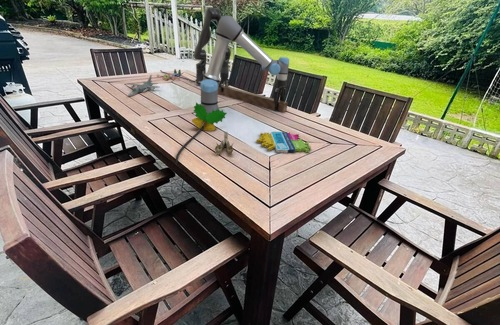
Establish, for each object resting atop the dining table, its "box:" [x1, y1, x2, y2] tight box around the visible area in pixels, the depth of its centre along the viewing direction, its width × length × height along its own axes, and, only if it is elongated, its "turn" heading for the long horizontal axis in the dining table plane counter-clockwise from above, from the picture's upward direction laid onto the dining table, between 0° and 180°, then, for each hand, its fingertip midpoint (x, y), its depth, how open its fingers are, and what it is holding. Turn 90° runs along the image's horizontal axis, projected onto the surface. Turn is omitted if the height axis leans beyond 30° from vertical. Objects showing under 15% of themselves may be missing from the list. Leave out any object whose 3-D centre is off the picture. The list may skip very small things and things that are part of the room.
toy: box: [155, 68, 182, 81], centre depth 281 cm, size 28×7×30 cm
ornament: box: [191, 102, 228, 132], centre depth 162 cm, size 21×8×15 cm, turn 105°
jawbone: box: [214, 131, 234, 156], centre depth 136 cm, size 9×15×10 cm
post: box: [218, 85, 289, 114], centre depth 220 cm, size 71×5×7 cm, turn 51°
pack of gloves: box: [256, 131, 312, 154], centre depth 152 cm, size 26×2×30 cm
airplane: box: [127, 74, 159, 97], centre depth 228 cm, size 38×32×10 cm
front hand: (278, 109), depth 206 cm, fingers closed on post, 5 cm apart
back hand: (224, 91), depth 236 cm, fingers closed on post, 5 cm apart
